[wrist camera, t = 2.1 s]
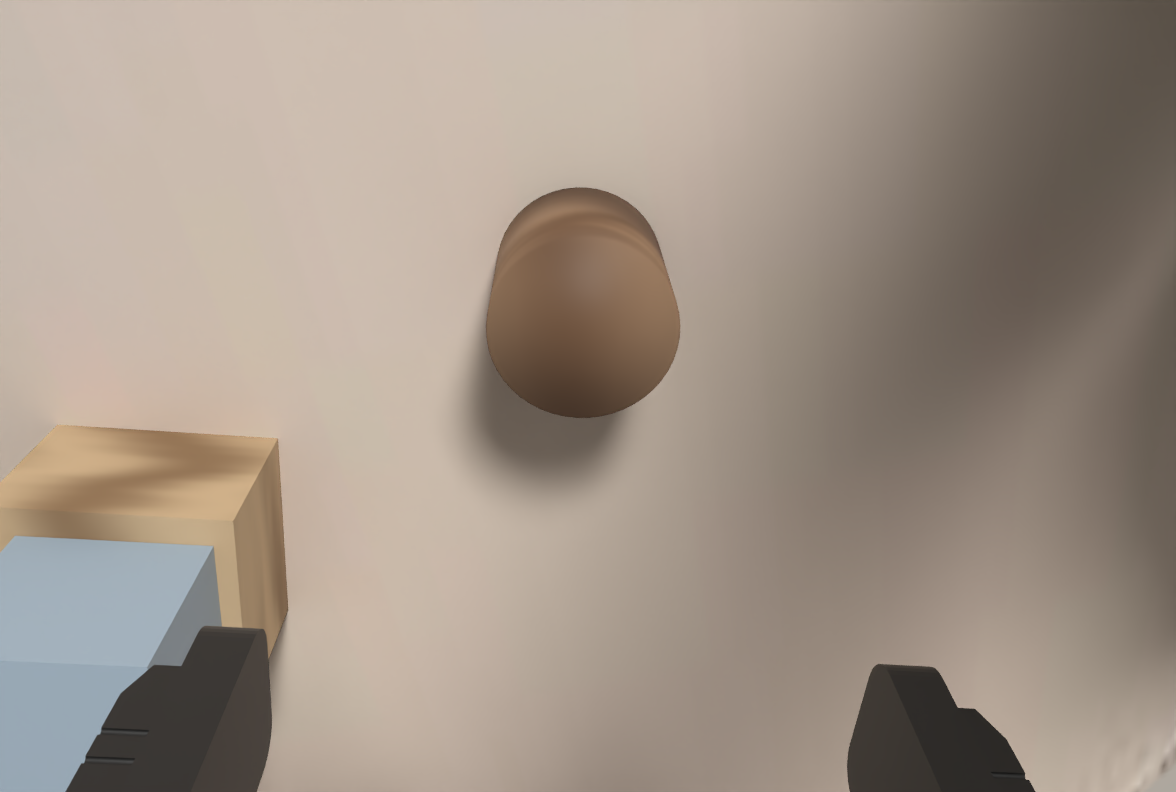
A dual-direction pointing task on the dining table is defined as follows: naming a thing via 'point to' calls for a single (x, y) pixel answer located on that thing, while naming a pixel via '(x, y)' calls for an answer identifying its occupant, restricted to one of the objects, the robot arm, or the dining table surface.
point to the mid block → (87, 641)
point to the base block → (163, 505)
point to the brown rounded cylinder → (581, 305)
